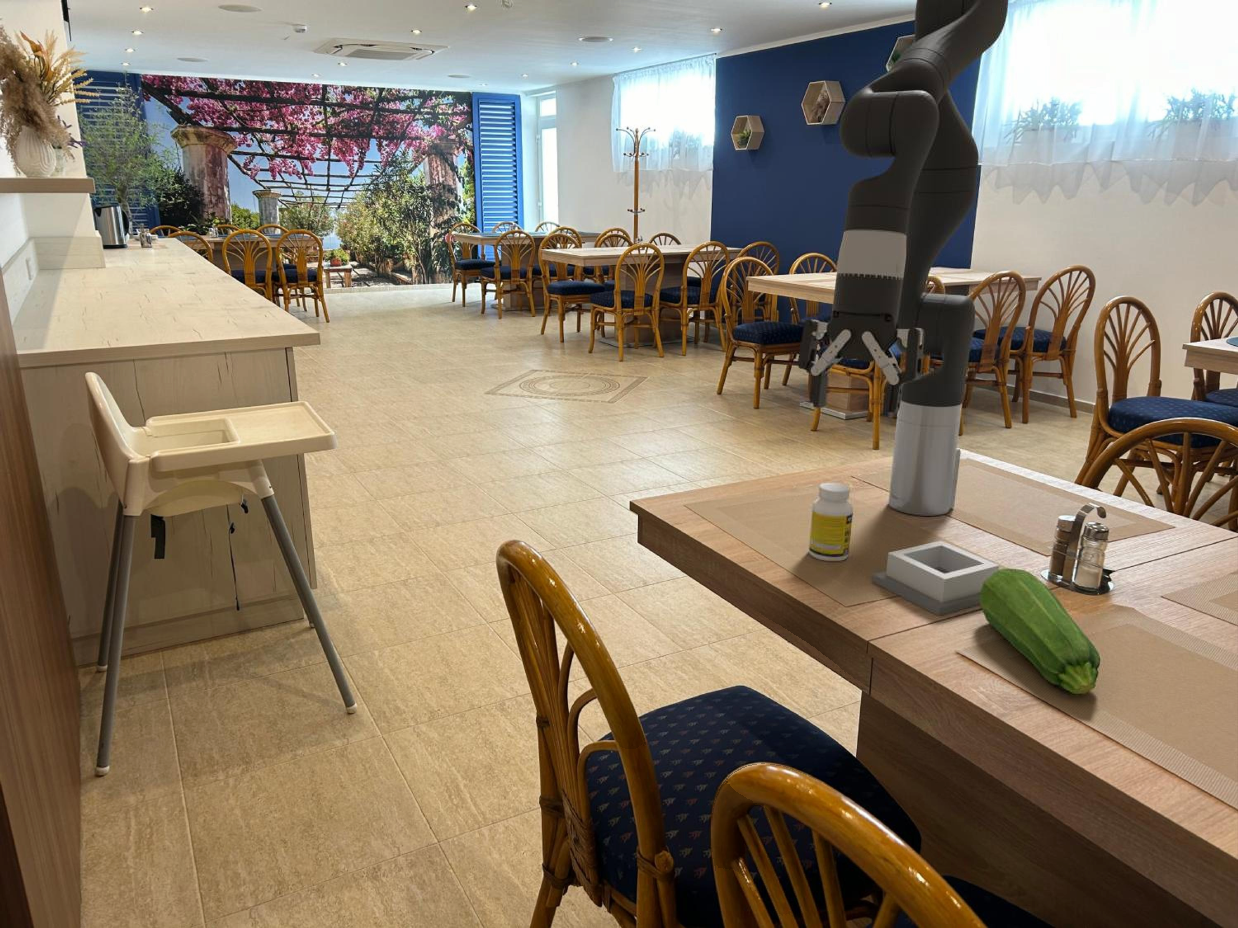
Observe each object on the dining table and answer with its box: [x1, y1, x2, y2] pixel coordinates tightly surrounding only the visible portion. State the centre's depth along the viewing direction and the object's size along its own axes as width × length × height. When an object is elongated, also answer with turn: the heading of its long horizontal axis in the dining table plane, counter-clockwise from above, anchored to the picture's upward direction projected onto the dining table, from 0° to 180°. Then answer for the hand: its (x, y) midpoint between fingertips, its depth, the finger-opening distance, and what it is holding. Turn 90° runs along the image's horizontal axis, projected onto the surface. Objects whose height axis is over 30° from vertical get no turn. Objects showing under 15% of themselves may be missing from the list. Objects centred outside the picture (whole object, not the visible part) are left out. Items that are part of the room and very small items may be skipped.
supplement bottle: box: [808, 482, 854, 562], centre depth 122 cm, size 5×5×10 cm
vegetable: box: [979, 568, 1101, 695], centre depth 95 cm, size 7×7×20 cm
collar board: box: [871, 540, 1000, 616], centre depth 112 cm, size 12×11×4 cm
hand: (852, 411), depth 107 cm, fingers open, 8 cm apart
